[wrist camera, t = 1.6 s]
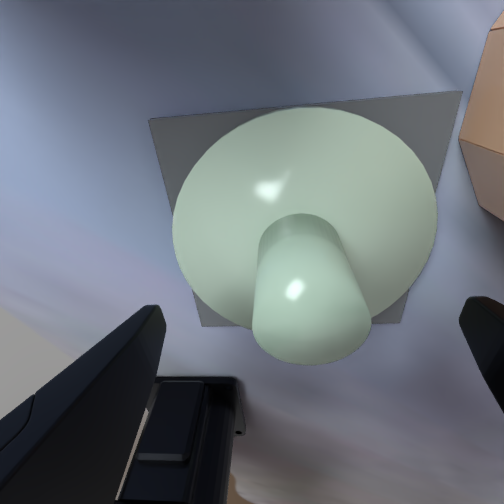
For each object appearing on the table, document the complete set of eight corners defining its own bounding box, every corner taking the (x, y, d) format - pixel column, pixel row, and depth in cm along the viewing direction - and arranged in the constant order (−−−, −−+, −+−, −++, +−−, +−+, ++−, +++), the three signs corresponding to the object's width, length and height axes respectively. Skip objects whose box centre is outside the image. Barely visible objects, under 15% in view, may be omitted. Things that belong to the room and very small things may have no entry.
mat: (396, 317, 14) (399, 323, 14) (203, 321, 15) (202, 326, 15) (455, 90, 9) (462, 91, 9) (152, 118, 10) (147, 120, 10)
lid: (399, 323, 14) (451, 425, 10) (201, 326, 15) (175, 420, 11) (462, 91, 9) (629, 110, 5) (148, 120, 10) (58, 155, 6)
